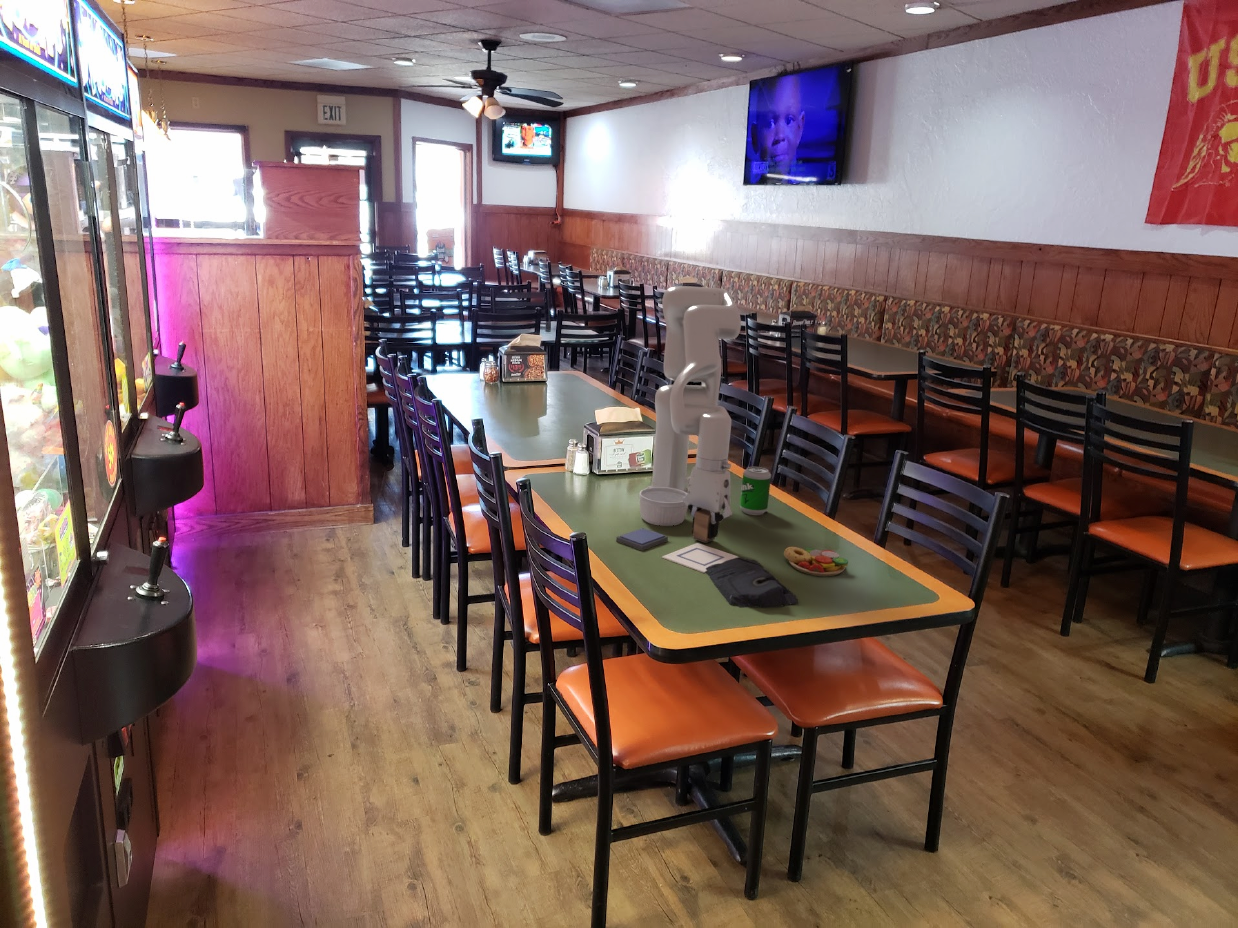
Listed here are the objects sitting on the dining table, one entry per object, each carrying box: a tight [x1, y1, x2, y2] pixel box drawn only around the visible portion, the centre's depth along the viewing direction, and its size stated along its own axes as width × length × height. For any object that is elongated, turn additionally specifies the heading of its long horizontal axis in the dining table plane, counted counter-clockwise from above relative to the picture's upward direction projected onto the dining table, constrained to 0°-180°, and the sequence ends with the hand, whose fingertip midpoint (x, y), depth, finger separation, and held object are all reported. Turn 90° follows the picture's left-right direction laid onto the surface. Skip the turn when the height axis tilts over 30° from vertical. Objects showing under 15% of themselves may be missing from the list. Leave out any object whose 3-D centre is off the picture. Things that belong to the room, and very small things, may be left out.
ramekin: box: [638, 487, 688, 527], centre depth 231 cm, size 13×13×7 cm
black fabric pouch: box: [705, 556, 799, 609], centre depth 192 cm, size 15×22×5 cm
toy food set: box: [783, 546, 849, 577], centre depth 206 cm, size 13×13×3 cm
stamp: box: [692, 509, 716, 544], centre depth 217 cm, size 4×4×7 cm
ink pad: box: [615, 527, 669, 551], centre depth 215 cm, size 10×8×1 cm
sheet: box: [661, 542, 739, 574], centre depth 207 cm, size 14×12×1 cm
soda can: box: [739, 466, 772, 516], centre depth 242 cm, size 8×8×12 cm
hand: (704, 534), depth 218 cm, fingers closed on stamp, 4 cm apart
